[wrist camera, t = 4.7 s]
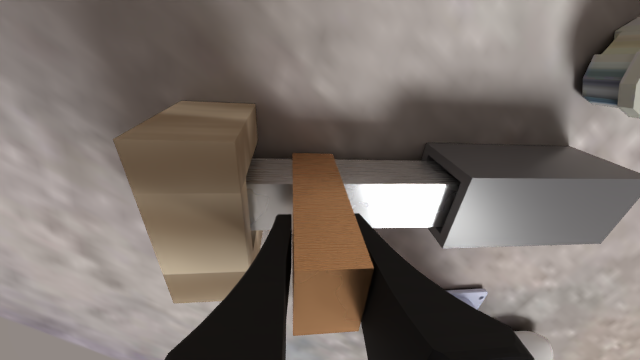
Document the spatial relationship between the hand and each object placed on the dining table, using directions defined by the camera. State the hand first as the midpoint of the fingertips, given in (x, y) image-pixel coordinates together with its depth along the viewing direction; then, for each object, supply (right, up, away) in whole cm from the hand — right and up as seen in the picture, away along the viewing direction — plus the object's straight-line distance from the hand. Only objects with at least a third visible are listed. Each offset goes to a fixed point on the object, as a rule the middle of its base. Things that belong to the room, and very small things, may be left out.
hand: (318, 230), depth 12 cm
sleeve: (+12, +3, +7) cm, 14 cm away
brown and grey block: (+2, +3, +5) cm, 6 cm away
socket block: (-6, +3, +4) cm, 8 cm away
